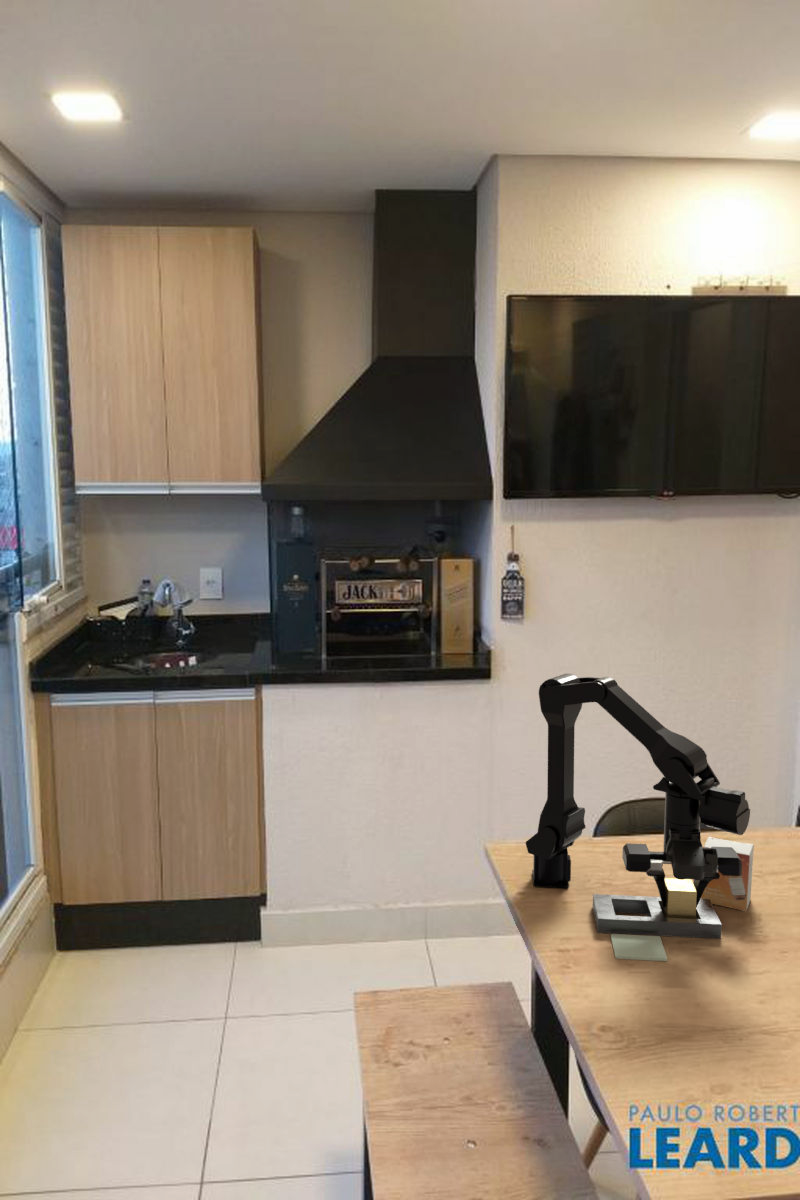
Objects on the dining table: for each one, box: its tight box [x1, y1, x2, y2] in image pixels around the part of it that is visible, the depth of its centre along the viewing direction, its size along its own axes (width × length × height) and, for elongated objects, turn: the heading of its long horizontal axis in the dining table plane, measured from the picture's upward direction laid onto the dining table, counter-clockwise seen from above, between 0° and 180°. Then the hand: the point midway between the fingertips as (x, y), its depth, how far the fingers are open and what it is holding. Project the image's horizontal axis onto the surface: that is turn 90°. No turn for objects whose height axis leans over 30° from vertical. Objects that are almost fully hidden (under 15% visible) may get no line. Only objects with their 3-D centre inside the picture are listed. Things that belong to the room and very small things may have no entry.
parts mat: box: [610, 933, 668, 962], centre depth 146 cm, size 8×7×1 cm
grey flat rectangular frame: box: [592, 893, 723, 940], centre depth 155 cm, size 20×9×2 cm, turn 83°
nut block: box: [663, 877, 697, 919], centre depth 154 cm, size 5×5×7 cm
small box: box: [701, 836, 755, 912], centre depth 162 cm, size 8×6×10 cm
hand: (679, 906), depth 154 cm, fingers closed on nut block, 5 cm apart
